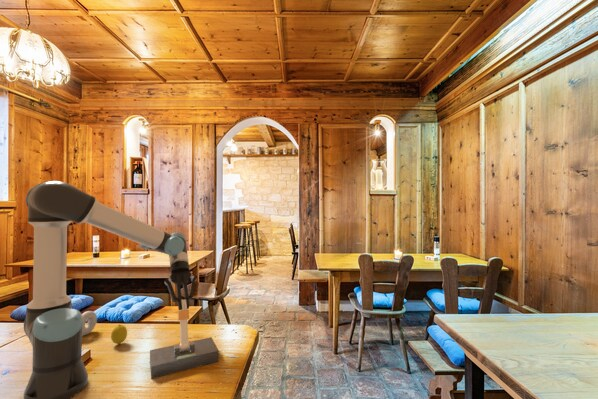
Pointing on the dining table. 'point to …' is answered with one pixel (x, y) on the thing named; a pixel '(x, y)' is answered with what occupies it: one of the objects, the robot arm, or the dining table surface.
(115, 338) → the lemon
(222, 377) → the dining table surface
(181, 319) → the lever
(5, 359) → the dining table surface
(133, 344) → the dining table surface
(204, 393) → the dining table surface
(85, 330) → the donut
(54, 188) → the robot arm
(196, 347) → the box
